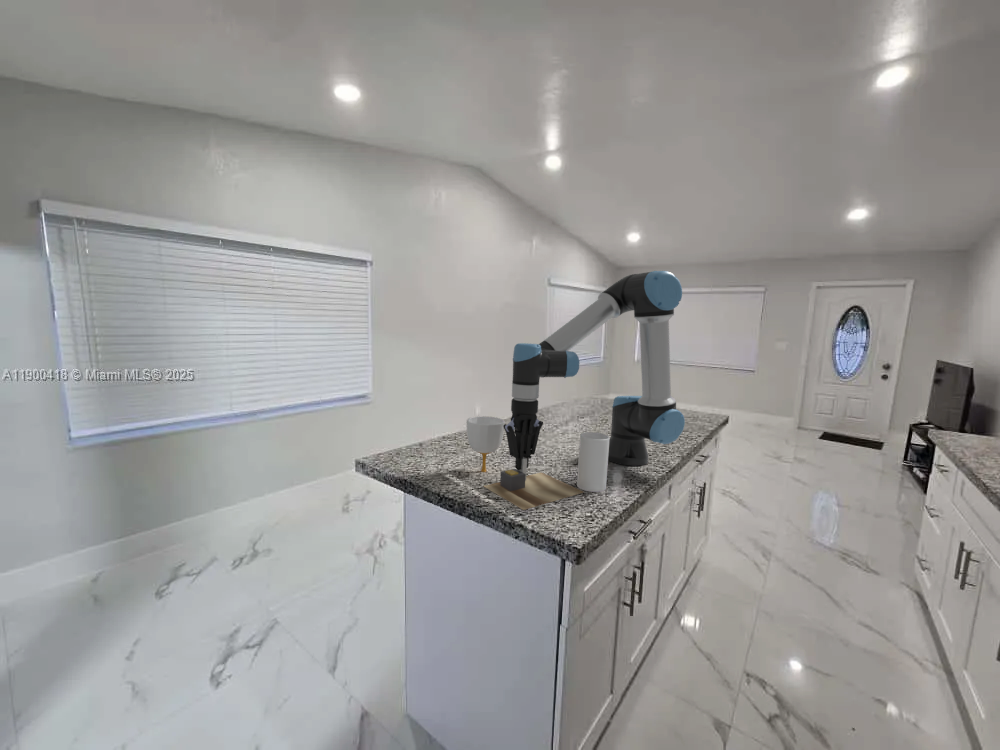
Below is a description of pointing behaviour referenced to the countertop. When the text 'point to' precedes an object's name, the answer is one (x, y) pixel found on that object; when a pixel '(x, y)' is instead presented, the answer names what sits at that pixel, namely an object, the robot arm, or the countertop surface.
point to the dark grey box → (512, 479)
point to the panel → (535, 491)
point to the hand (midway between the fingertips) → (521, 479)
